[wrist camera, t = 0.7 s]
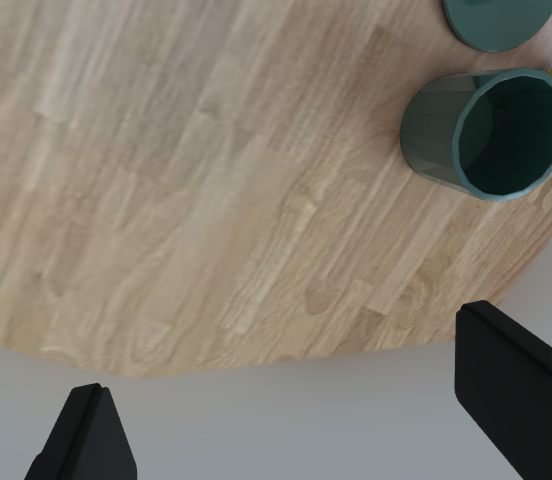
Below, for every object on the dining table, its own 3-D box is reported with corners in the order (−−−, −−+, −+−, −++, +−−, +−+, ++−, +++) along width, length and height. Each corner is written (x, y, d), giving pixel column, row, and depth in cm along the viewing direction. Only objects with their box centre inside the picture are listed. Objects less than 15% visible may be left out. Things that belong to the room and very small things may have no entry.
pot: (393, 89, 41) (447, 87, 32) (492, 63, 42) (573, 53, 33) (406, 191, 45) (457, 215, 36) (495, 165, 46) (568, 182, 37)
